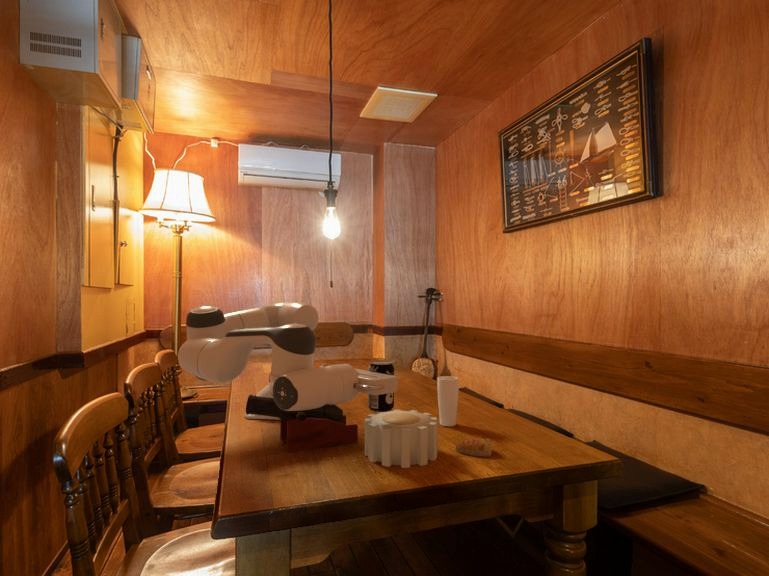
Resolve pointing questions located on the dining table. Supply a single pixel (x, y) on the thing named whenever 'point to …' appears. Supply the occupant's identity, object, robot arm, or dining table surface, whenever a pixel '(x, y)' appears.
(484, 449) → the pastry
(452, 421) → the drinking glass
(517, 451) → the dining table surface
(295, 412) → the cannon model
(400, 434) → the gear pedestal
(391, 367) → the beverage can
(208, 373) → the robot arm
